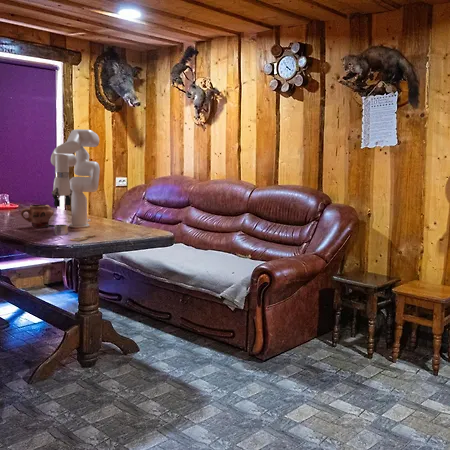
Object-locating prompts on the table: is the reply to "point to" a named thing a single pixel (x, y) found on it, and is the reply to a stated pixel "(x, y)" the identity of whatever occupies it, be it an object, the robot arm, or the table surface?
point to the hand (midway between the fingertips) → (62, 205)
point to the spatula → (82, 238)
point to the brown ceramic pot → (38, 215)
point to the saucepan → (59, 229)
